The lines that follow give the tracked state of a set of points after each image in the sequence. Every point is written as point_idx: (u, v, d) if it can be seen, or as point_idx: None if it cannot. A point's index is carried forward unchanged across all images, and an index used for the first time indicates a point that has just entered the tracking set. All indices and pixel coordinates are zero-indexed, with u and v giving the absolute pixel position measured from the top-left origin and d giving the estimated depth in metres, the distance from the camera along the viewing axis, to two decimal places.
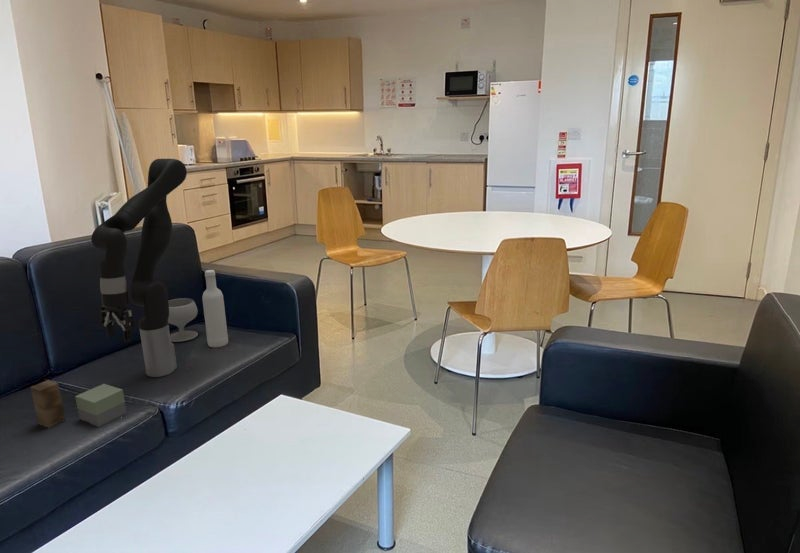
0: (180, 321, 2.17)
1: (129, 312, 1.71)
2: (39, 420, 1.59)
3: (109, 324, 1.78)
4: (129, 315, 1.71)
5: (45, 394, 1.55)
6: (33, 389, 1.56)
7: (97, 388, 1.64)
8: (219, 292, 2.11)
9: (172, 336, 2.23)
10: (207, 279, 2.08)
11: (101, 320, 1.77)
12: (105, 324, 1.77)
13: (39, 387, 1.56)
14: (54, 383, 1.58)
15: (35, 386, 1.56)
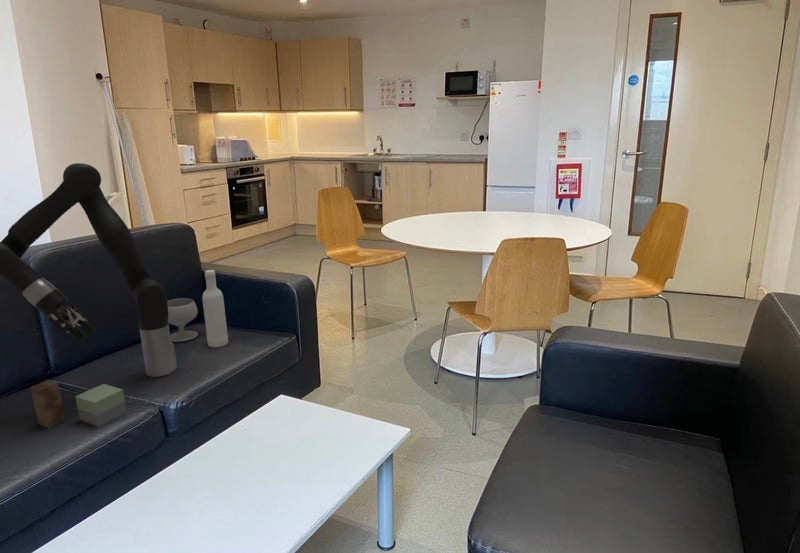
0: (180, 321, 2.17)
1: (52, 316, 1.54)
2: (39, 420, 1.59)
3: (81, 323, 1.66)
4: (53, 318, 1.55)
5: (45, 394, 1.55)
6: (33, 389, 1.56)
7: (97, 388, 1.64)
8: (219, 292, 2.11)
9: (172, 336, 2.23)
10: (207, 279, 2.08)
11: None
12: None
13: (39, 388, 1.56)
14: (54, 383, 1.58)
15: (35, 386, 1.56)
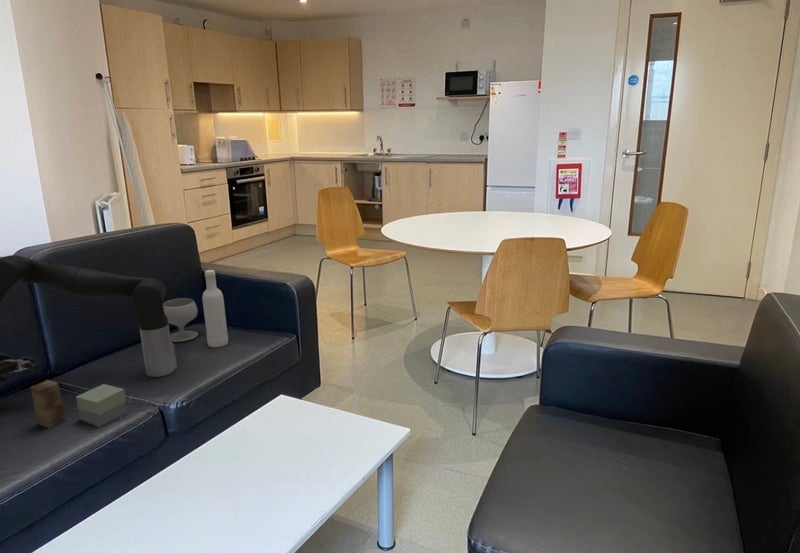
0: (180, 321, 2.17)
1: None
2: (39, 420, 1.59)
3: (26, 366, 1.67)
4: None
5: (45, 394, 1.55)
6: (33, 389, 1.56)
7: (97, 388, 1.64)
8: (219, 292, 2.11)
9: (172, 336, 2.23)
10: (207, 279, 2.08)
11: None
12: None
13: (39, 387, 1.56)
14: (54, 383, 1.58)
15: (35, 386, 1.56)
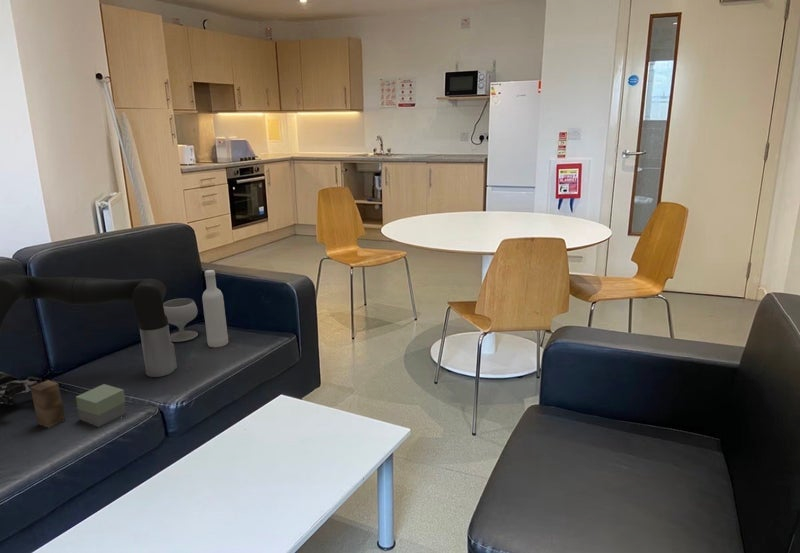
0: (180, 321, 2.17)
1: None
2: (39, 420, 1.59)
3: None
4: None
5: (45, 394, 1.55)
6: (33, 389, 1.56)
7: (97, 388, 1.64)
8: (219, 292, 2.11)
9: (172, 336, 2.23)
10: (207, 279, 2.08)
11: None
12: None
13: (39, 387, 1.56)
14: (54, 383, 1.58)
15: (35, 386, 1.56)
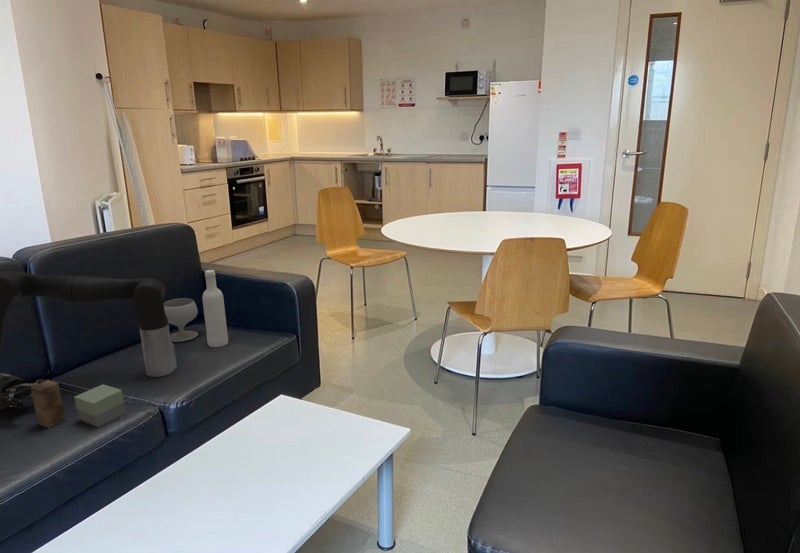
0: (180, 321, 2.17)
1: None
2: (39, 420, 1.59)
3: None
4: None
5: (45, 394, 1.55)
6: (33, 389, 1.56)
7: (96, 389, 1.64)
8: (219, 292, 2.11)
9: (172, 336, 2.23)
10: (207, 279, 2.08)
11: None
12: None
13: (39, 387, 1.56)
14: (54, 383, 1.58)
15: (35, 386, 1.56)
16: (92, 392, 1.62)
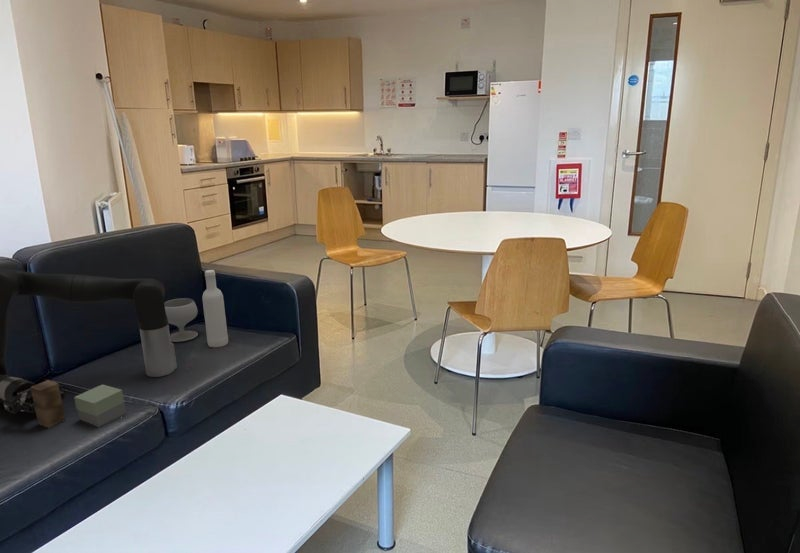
0: (180, 321, 2.17)
1: (4, 406, 1.57)
2: (39, 420, 1.59)
3: None
4: (5, 407, 1.57)
5: (45, 394, 1.55)
6: (33, 389, 1.56)
7: (96, 389, 1.64)
8: (219, 292, 2.11)
9: (172, 336, 2.23)
10: (207, 279, 2.08)
11: None
12: None
13: (39, 387, 1.56)
14: (54, 383, 1.58)
15: (35, 386, 1.56)
16: (92, 392, 1.61)
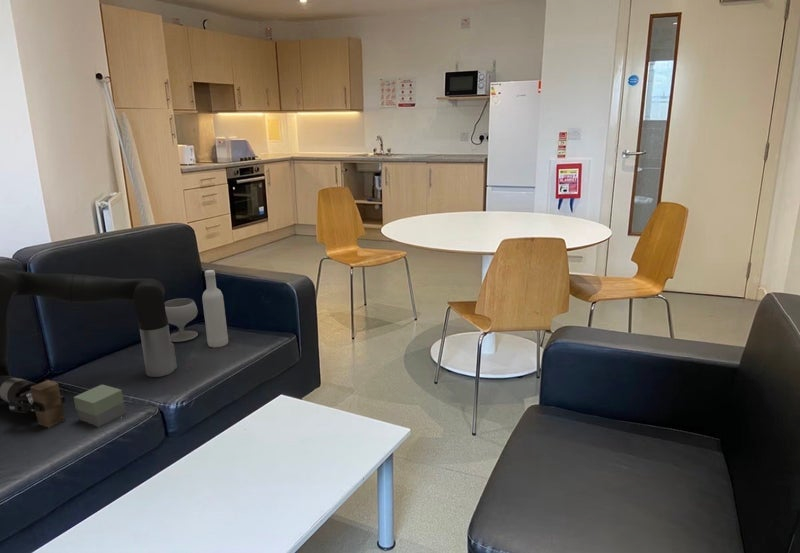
0: (180, 321, 2.17)
1: (9, 407, 1.56)
2: (38, 420, 1.59)
3: None
4: (12, 408, 1.56)
5: (45, 394, 1.55)
6: (33, 389, 1.56)
7: (95, 389, 1.64)
8: (219, 292, 2.11)
9: (172, 336, 2.23)
10: (207, 279, 2.08)
11: None
12: None
13: (39, 387, 1.56)
14: (54, 383, 1.58)
15: (35, 386, 1.56)
16: (91, 392, 1.62)
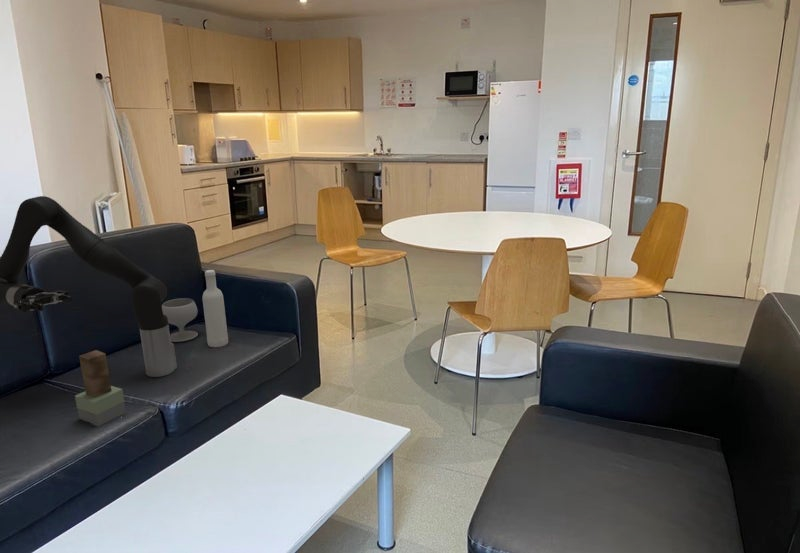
0: (180, 321, 2.17)
1: (14, 306, 1.65)
2: (86, 389, 1.60)
3: (61, 298, 1.71)
4: (15, 307, 1.64)
5: (92, 364, 1.56)
6: (81, 358, 1.57)
7: None
8: (219, 292, 2.11)
9: (172, 336, 2.23)
10: (207, 279, 2.08)
11: None
12: None
13: (87, 357, 1.57)
14: (102, 353, 1.59)
15: (83, 355, 1.58)
16: None
